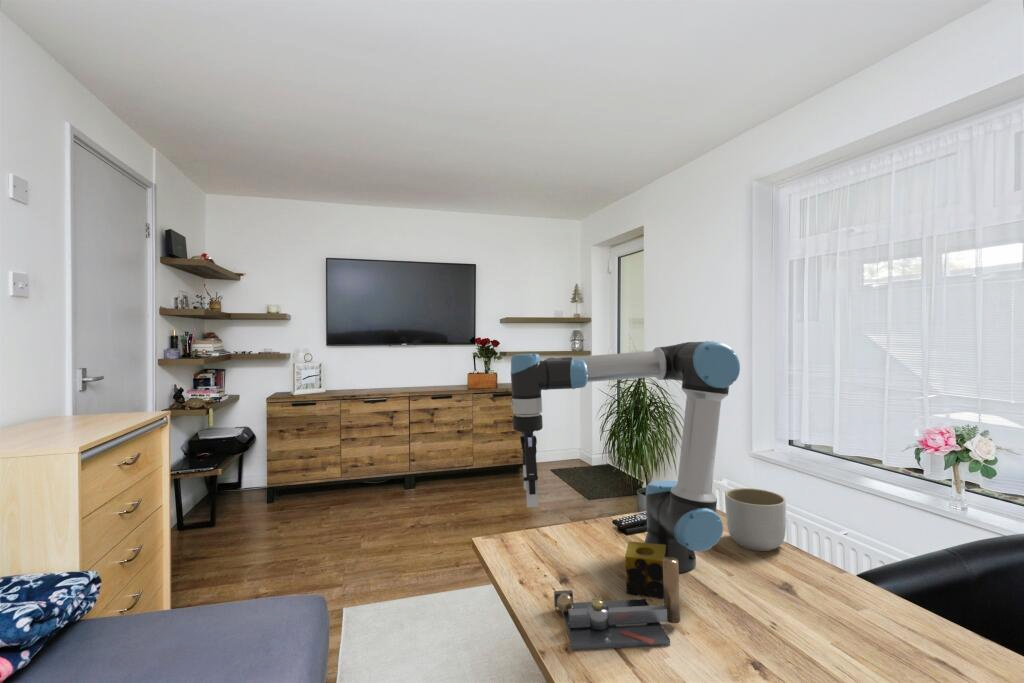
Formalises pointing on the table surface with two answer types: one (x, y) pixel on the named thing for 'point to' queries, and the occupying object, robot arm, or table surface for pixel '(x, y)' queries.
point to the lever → (636, 613)
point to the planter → (756, 518)
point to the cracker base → (613, 633)
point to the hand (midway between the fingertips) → (530, 497)
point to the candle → (645, 569)
